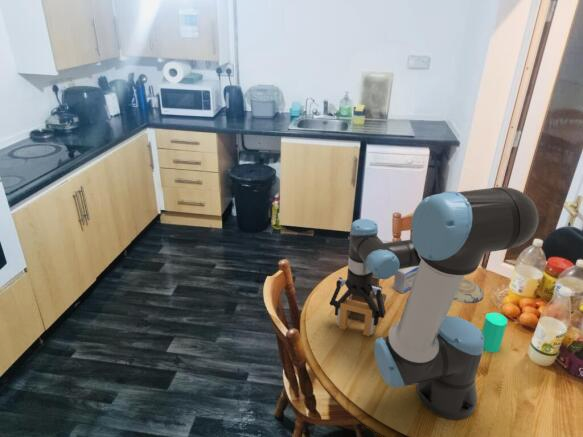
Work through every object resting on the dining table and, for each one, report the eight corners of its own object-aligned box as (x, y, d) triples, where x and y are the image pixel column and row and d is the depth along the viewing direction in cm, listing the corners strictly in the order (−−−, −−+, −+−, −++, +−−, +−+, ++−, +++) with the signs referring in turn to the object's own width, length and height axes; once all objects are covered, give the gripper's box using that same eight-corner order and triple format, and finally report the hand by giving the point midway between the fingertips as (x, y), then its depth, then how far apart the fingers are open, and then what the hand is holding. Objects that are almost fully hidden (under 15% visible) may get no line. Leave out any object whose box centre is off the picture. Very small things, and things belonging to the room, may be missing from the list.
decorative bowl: (492, 295, 155) (458, 275, 166) (494, 287, 153) (459, 267, 164) (465, 310, 148) (431, 288, 159) (467, 301, 146) (433, 280, 157)
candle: (498, 340, 133) (507, 309, 128) (501, 354, 128) (510, 322, 123) (477, 337, 134) (485, 306, 129) (479, 350, 129) (488, 318, 124)
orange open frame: (369, 336, 135) (372, 310, 130) (339, 328, 138) (340, 303, 134) (371, 330, 137) (374, 305, 133) (341, 322, 140) (343, 297, 136)
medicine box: (402, 294, 155) (405, 274, 151) (392, 288, 158) (395, 268, 154) (415, 286, 159) (418, 266, 155) (405, 281, 162) (408, 261, 158)
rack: (376, 325, 139) (380, 294, 134) (341, 316, 143) (343, 286, 138) (386, 297, 153) (389, 269, 147) (353, 290, 157) (355, 261, 151)
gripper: (400, 270, 127) (392, 329, 136) (328, 255, 134) (325, 312, 144) (396, 283, 120) (388, 344, 130) (320, 267, 128) (318, 325, 138)
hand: (355, 327), depth 137 cm, fingers closed on orange open frame, 10 cm apart
